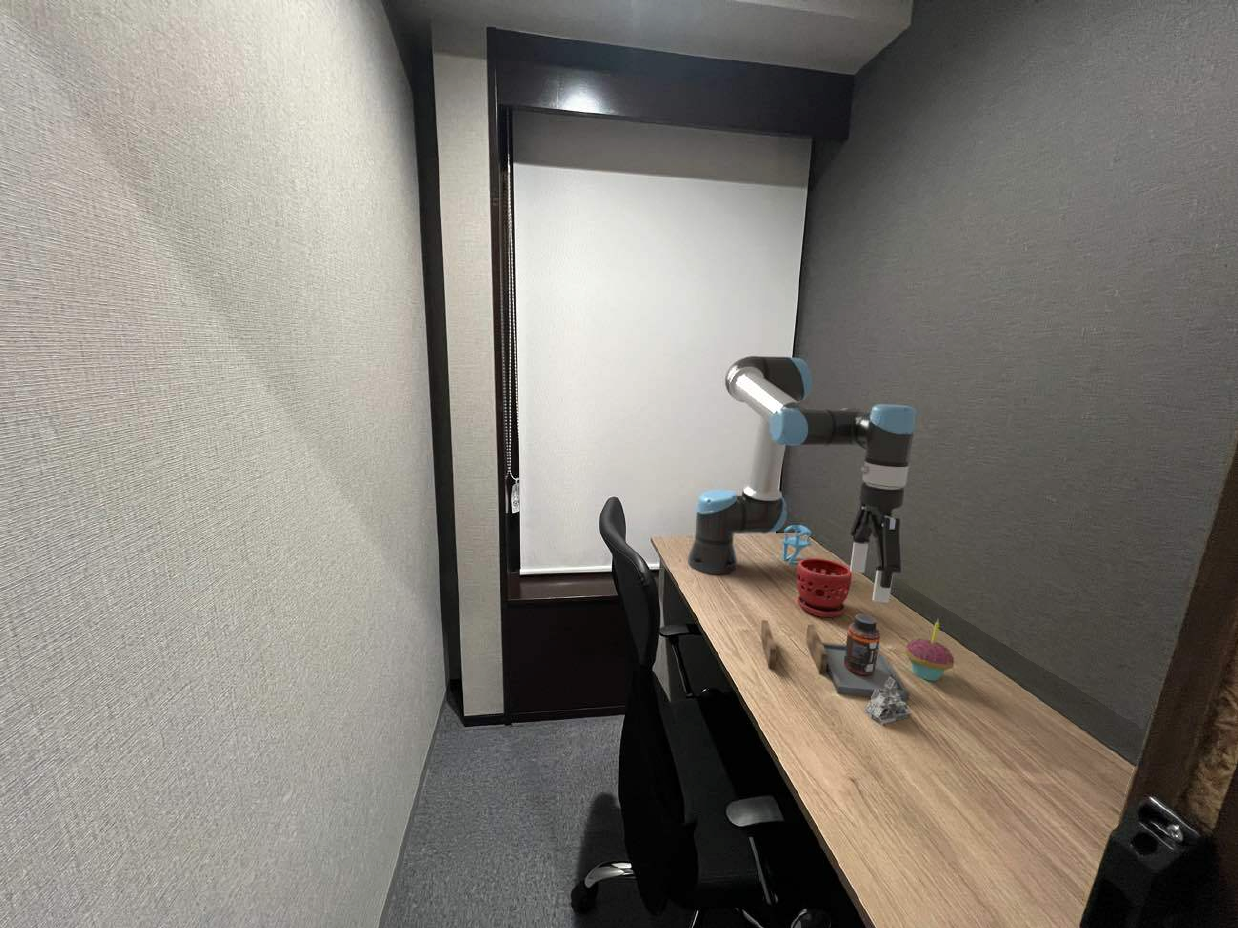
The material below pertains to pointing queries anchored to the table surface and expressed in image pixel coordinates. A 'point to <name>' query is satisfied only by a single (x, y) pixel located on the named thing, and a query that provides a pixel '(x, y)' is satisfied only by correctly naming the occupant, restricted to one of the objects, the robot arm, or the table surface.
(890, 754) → the table surface
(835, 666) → the tray
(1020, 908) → the table surface
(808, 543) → the chair
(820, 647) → the cradle
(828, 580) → the plant pot
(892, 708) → the house of cards
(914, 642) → the cupcake
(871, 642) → the supplement bottle
